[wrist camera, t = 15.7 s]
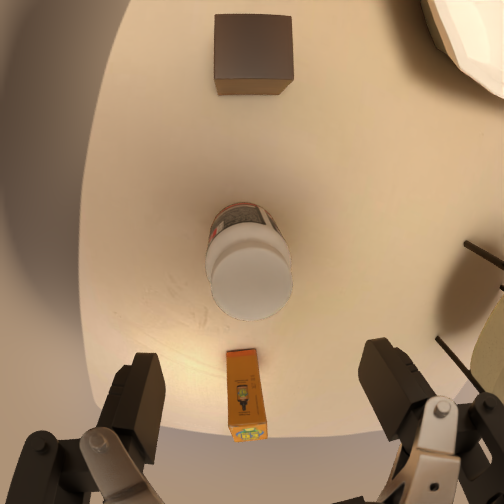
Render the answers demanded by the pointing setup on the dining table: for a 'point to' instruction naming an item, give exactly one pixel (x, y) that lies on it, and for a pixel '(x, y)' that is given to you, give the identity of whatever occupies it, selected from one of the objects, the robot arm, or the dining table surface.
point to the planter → (486, 344)
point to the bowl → (470, 37)
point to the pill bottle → (248, 263)
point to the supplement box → (245, 397)
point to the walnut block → (252, 54)
